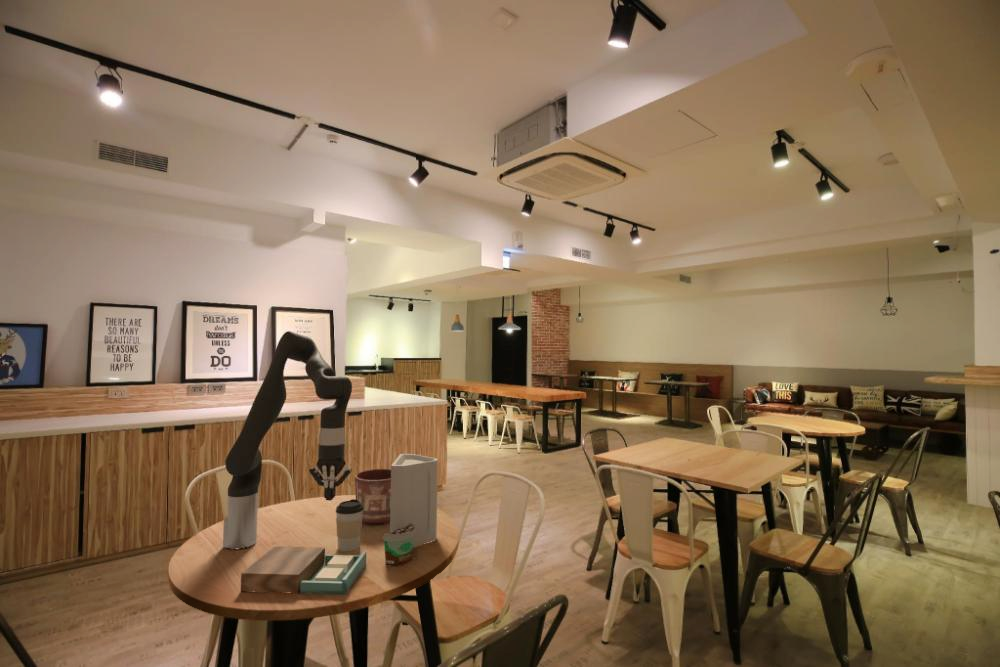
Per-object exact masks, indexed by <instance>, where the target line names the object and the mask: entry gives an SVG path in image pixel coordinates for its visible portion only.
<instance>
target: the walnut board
mask: <svg viewBox="0 0 1000 667" xmlns="http://www.w3.org/2000/svg"><path fill="white" fill-rule="evenodd" d="M325 555H326V547H314V546H313V547H312V546H309V547H308V546H306V547H305V546H276V545H274V546H273V547H272V548H270V549H269V550H268V551H267V552H266V553H264V554H263V555H262V556H261V557H259V558H258V559H257V560H256V561H254V562H253V563H252V564H251V565H250V566H248V567H246V569H244V570H243V571H242V572H241V574H240V575H241V576H240V592H241V591H255V592H254V593H264V592H285V593H284V594H287V593H286V592H291V593H290V594H300V582H301V581H309V580H310V579H311V578H312V577H313V576H314V575H315V573H316V572H317V571H318V570H319V569H320V568H321V567H322V566H323V565H324V563H325Z"/></svg>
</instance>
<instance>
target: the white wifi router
mask: <svg viewBox="0 0 1000 667" xmlns="http://www.w3.org/2000/svg"><path fill="white" fill-rule="evenodd" d="M390 467H391V468H390V469H391V502H390V522H389V534H391V533H392V532H394V531H395V530H397V529H401V528H404V527H407V526H409V523H412V524H414V526H415V528H416V535H415V536H414V541H413V548H416V547H415V546H417V547H419V546H418V545H420V546H422V545H421V544H424V543H427V542H430V541H433V540H437V535H438V534H437V528H438V527H437V526H438V525H437V524H438V523H437V522H438V520H437V518H438V516H437V515H438V478H439V477H438V473H439V459H438V458H436V457H430V456H426V455H420V454H414V453H401V454H399V455H398V456H397V458H396V459H395V460H394V461H393V462H392V464H391V466H390ZM430 543H431V542H430ZM427 544H428V543H427ZM424 545H425V544H424Z"/></svg>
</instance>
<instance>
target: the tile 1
mask: <svg viewBox="0 0 1000 667" xmlns="http://www.w3.org/2000/svg"><path fill="white" fill-rule="evenodd" d="M343 577H344V568H323V569H322V570H321V571H320V572H319V573H318V575H317V576H316V577H315V581H341V580H342V579H343Z"/></svg>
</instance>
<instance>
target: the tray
mask: <svg viewBox="0 0 1000 667" xmlns="http://www.w3.org/2000/svg"><path fill="white" fill-rule="evenodd" d="M335 555H338V554H336V553H335V554H330V553H327V554H326V553H325V563H324V565H323V566H322V567H321V568H320V569H319V570H318V571H317V572H316V573H315V575H314V576H313V577H312V578H311V579H310V580H309V581H301V582H300V592H299V594H301V593H312V594H311V595H313V594H314V595H337V596H338V595H343V596H345V595H347V593H348V592H349V590H350V588H351V587H352V586H353V584H354V583H355V582H356V580H357V579H358V577H359V576H360V574H361V573H362V572H363V570H364V568H366V566H367V551H362V553H361V554H351V555H352V556H354V564H353V566H352V567H351V568H350V570H349V571H348V573H344V577H343V579H342V580H341V581H315V577H316V576H317V575H318V573H319V572H320V571H321V570H322V569H323V568H327V564H328V562H329V561H330V560H331V559H332V558H333V557H334V556H335Z"/></svg>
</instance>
